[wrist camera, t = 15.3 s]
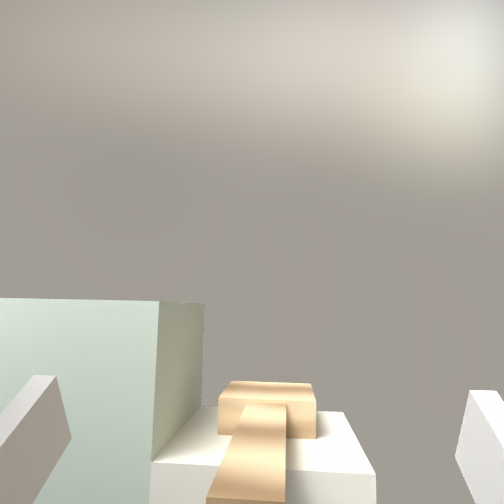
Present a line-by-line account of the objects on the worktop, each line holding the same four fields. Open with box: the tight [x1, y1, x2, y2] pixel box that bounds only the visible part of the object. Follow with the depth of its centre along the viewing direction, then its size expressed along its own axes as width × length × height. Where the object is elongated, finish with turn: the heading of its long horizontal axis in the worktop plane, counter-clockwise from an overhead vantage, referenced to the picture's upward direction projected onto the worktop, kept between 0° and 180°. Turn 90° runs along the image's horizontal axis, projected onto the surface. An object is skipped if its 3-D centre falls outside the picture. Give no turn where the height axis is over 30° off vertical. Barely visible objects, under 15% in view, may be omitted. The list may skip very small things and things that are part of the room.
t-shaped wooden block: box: [206, 381, 316, 504], centre depth 22 cm, size 19×6×2 cm, turn 175°
